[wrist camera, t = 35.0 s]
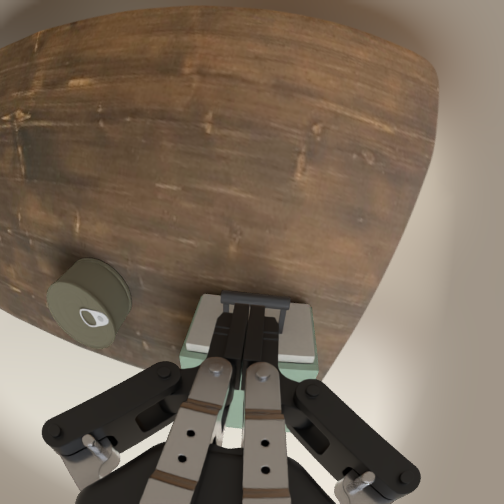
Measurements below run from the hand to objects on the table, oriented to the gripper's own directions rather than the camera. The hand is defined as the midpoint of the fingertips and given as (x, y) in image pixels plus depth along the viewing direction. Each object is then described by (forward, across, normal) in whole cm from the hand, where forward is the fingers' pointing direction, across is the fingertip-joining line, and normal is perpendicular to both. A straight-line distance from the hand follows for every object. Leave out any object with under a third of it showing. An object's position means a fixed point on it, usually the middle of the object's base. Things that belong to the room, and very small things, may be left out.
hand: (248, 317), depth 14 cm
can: (+19, +24, +16) cm, 35 cm away
